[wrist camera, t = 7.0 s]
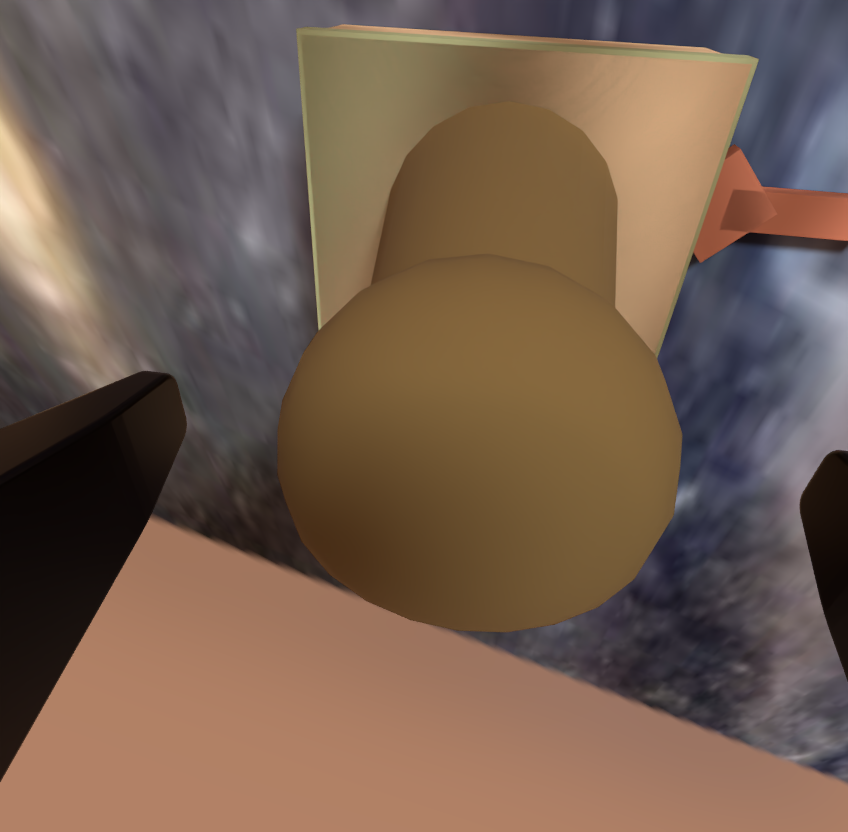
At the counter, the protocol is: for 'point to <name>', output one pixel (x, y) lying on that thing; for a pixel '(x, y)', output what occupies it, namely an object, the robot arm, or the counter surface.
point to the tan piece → (570, 99)
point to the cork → (485, 392)
